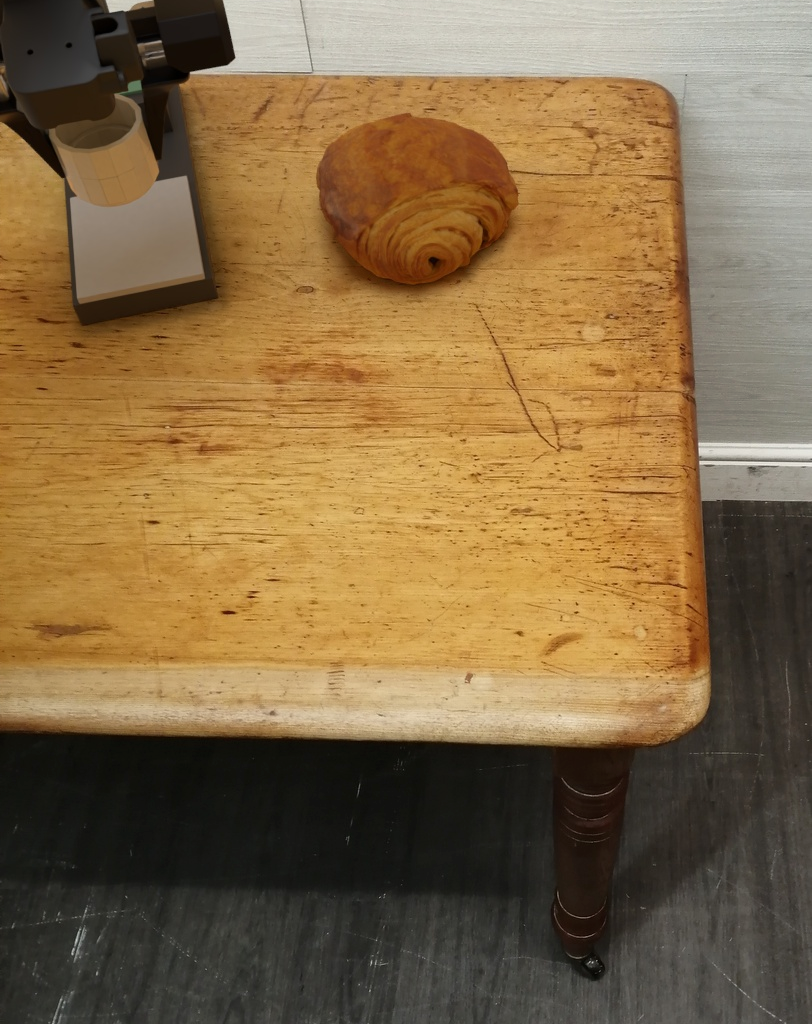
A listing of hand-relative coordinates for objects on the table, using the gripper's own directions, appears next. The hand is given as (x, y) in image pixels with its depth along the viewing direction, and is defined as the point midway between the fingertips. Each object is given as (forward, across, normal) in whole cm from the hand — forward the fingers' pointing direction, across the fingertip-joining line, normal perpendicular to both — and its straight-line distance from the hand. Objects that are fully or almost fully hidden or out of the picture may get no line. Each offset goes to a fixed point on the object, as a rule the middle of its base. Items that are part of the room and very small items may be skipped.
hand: (111, 165), depth 64 cm
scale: (+11, -1, +10) cm, 15 cm away
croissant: (+11, +20, +1) cm, 23 cm away
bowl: (+1, 0, 0) cm, 1 cm away
